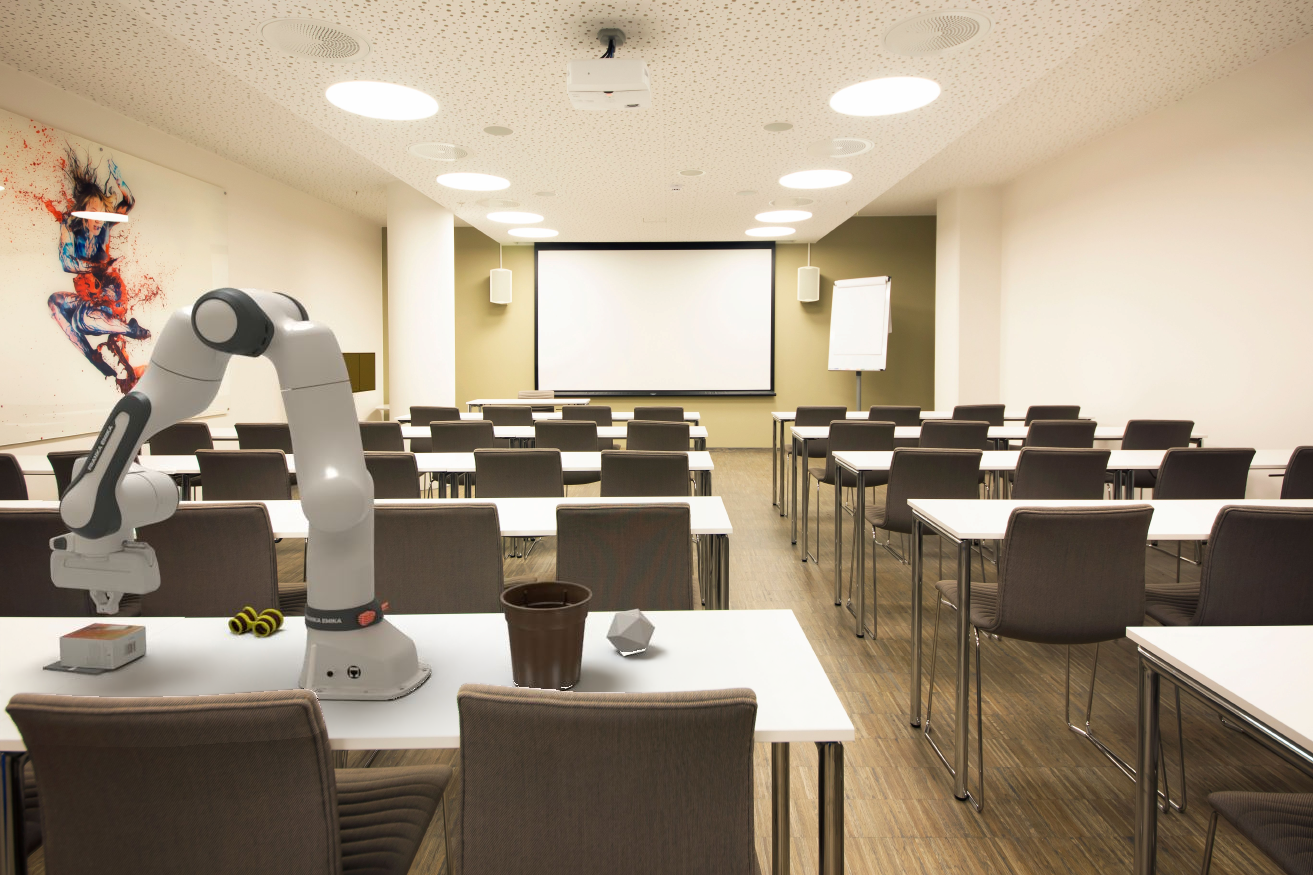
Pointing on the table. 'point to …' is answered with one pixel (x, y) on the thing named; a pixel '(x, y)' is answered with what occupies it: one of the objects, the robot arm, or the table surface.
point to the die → (630, 631)
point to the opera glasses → (256, 622)
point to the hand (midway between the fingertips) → (107, 612)
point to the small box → (102, 646)
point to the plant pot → (546, 632)
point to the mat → (74, 669)
